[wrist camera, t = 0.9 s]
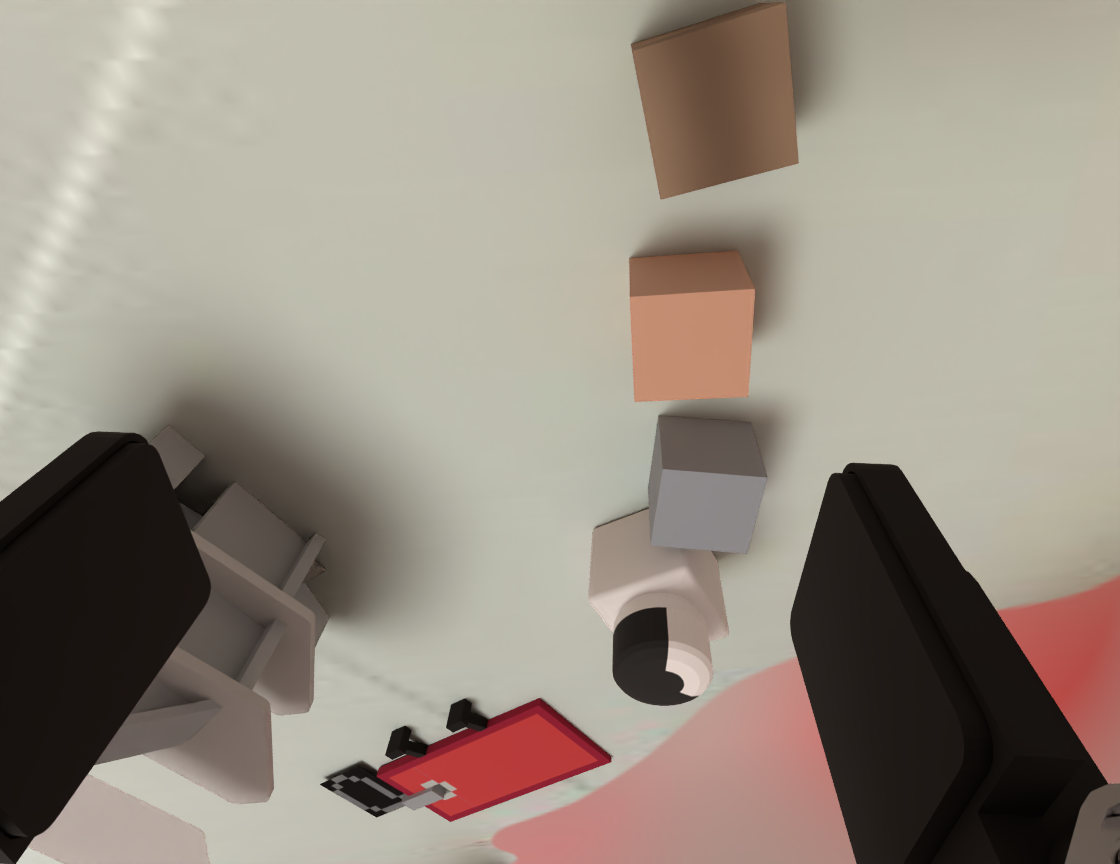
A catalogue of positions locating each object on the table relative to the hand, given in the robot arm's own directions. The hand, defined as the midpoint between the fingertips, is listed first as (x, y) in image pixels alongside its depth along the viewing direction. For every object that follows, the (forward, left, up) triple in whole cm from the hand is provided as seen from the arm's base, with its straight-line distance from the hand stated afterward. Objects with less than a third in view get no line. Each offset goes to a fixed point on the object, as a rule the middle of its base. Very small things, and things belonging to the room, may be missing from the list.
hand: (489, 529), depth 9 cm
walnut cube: (-6, -2, -30) cm, 30 cm away
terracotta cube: (-5, +9, -30) cm, 31 cm away
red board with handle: (+19, +58, -30) cm, 68 cm away
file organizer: (+29, +26, -30) cm, 49 cm away
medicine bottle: (-3, +28, -30) cm, 41 cm away
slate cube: (-6, +20, -30) cm, 36 cm away
